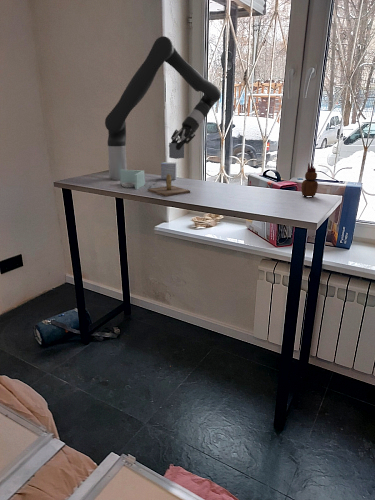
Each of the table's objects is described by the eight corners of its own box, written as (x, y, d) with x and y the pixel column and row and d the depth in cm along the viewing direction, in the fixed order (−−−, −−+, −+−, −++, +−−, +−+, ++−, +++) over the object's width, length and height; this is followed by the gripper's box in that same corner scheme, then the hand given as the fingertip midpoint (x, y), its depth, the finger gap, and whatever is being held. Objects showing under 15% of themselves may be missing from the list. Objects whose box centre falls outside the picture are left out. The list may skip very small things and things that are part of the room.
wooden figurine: (301, 197, 163) (305, 163, 158) (299, 195, 169) (303, 161, 163) (317, 198, 162) (322, 163, 157) (314, 195, 168) (319, 162, 162)
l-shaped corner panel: (121, 184, 188) (121, 169, 185) (144, 185, 186) (144, 170, 183) (113, 189, 177) (112, 173, 174) (137, 190, 175) (136, 174, 172)
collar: (169, 157, 181) (169, 142, 179) (177, 156, 184) (177, 142, 182) (175, 158, 178) (175, 143, 175) (184, 157, 181) (184, 143, 178)
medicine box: (176, 178, 203) (176, 162, 199) (175, 180, 198) (175, 163, 195) (162, 178, 203) (162, 162, 200) (161, 179, 199) (160, 163, 196)
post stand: (147, 191, 172) (147, 173, 169) (172, 187, 180) (172, 170, 177) (165, 196, 162) (165, 178, 159) (190, 192, 170) (190, 174, 167)
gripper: (180, 115, 183) (160, 141, 181) (198, 116, 173) (178, 144, 170) (188, 126, 189) (169, 152, 186) (206, 127, 178) (187, 155, 176)
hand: (173, 148), depth 178 cm, fingers closed on collar, 5 cm apart
